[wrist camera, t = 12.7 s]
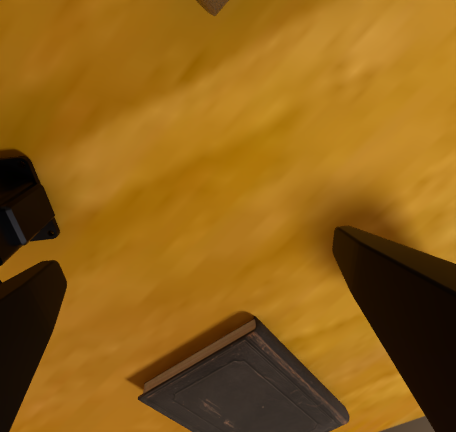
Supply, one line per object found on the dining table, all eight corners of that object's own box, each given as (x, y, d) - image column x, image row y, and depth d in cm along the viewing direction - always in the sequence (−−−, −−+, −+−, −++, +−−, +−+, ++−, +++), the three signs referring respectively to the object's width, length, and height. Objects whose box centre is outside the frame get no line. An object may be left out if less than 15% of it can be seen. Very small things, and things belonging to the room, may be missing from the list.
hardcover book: (249, 448, 42) (252, 467, 40) (141, 379, 32) (137, 399, 30) (343, 403, 39) (352, 421, 37) (254, 311, 29) (258, 329, 27)
